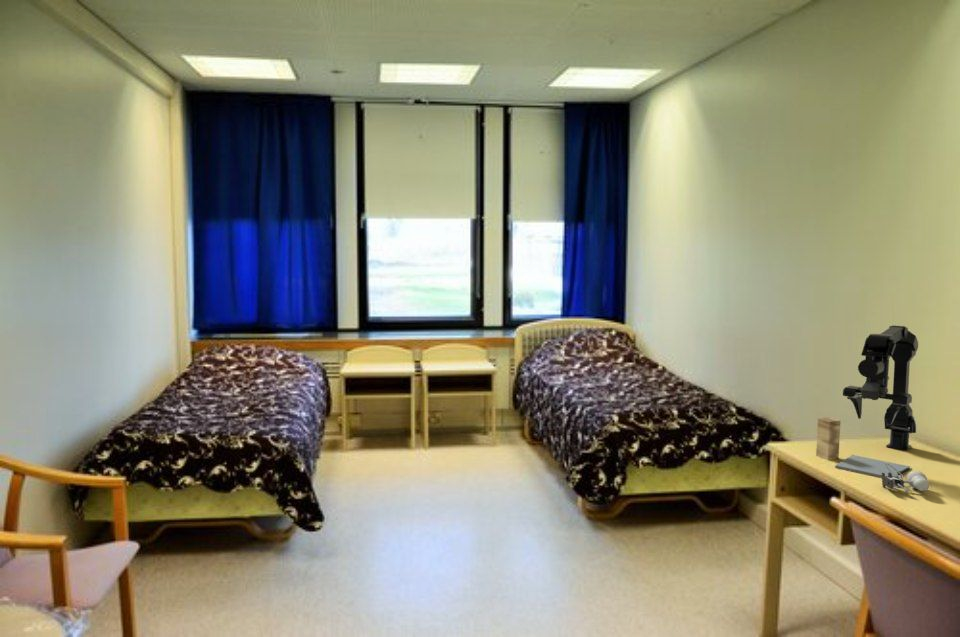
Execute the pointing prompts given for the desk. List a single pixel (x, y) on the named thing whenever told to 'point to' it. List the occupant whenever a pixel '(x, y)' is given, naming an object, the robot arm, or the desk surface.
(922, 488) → the clip-on lamp
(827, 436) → the upright wooden block
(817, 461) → the desk surface
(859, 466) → the slate mat
